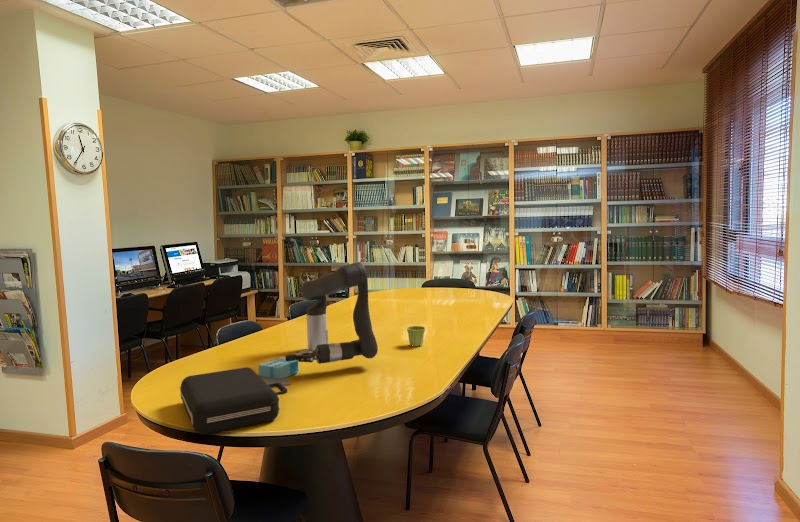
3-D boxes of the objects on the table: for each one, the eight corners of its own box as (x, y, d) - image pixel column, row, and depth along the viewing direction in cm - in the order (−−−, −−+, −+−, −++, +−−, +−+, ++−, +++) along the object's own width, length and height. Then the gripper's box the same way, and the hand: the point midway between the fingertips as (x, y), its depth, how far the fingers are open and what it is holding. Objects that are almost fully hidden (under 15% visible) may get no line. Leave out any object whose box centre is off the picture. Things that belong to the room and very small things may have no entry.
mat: (282, 372, 216) (281, 371, 216) (290, 384, 200) (290, 383, 200) (246, 377, 211) (246, 376, 211) (252, 390, 194) (252, 389, 194)
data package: (279, 368, 205) (256, 364, 210) (280, 379, 205) (257, 375, 211) (299, 360, 215) (277, 357, 221) (300, 371, 216) (277, 368, 221)
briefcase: (302, 418, 166) (300, 387, 165) (194, 440, 151) (192, 406, 150) (271, 387, 198) (269, 361, 197) (179, 403, 183) (178, 375, 182)
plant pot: (429, 344, 259) (428, 326, 258) (421, 348, 251) (421, 330, 250) (411, 342, 263) (411, 325, 262) (403, 347, 255) (403, 329, 254)
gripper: (324, 340, 220) (282, 345, 213) (332, 347, 208) (288, 352, 201) (324, 358, 220) (282, 363, 214) (333, 366, 208) (289, 372, 201)
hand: (285, 358), depth 207 cm, fingers closed
